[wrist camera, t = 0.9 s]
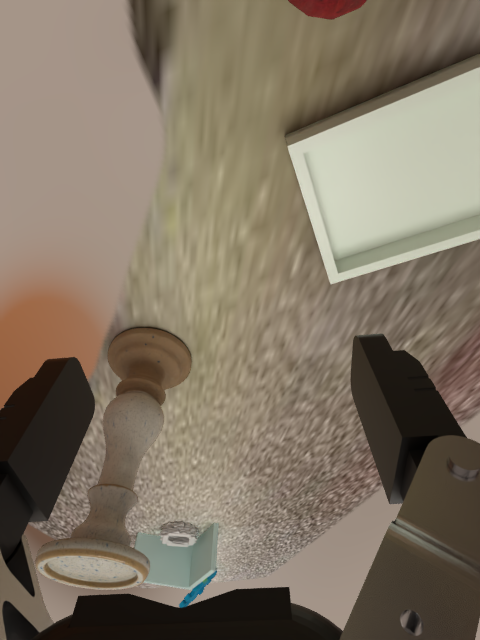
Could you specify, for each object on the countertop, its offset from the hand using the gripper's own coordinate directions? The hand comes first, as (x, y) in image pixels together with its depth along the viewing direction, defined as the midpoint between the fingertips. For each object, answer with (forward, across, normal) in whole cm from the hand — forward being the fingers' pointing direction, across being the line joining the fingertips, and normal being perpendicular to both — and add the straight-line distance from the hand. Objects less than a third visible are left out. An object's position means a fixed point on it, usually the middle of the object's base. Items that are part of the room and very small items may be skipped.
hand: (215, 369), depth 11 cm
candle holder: (+24, +11, +17) cm, 31 cm away
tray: (+21, -14, 0) cm, 25 cm away
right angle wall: (+30, +18, +63) cm, 72 cm away
